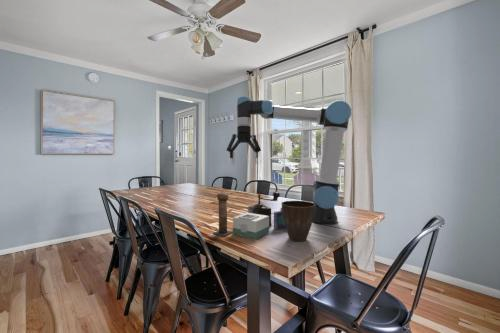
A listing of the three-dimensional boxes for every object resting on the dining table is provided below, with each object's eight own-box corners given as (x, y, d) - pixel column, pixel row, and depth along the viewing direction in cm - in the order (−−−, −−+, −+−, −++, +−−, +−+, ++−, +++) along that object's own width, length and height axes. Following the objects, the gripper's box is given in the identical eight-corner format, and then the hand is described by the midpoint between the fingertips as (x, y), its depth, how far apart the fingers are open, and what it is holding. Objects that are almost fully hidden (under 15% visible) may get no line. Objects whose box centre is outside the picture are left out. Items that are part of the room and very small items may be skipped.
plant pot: (291, 231, 121) (291, 199, 120) (320, 237, 111) (320, 203, 110) (274, 239, 109) (275, 204, 108) (305, 247, 100) (305, 208, 99)
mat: (233, 232, 119) (233, 231, 119) (223, 236, 113) (223, 235, 113) (222, 230, 123) (222, 229, 123) (212, 234, 117) (212, 232, 117)
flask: (274, 230, 123) (274, 209, 122) (272, 228, 126) (272, 207, 125) (291, 228, 126) (291, 207, 125) (288, 226, 129) (288, 206, 128)
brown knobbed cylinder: (230, 231, 118) (230, 194, 118) (223, 234, 114) (223, 195, 113) (222, 229, 121) (222, 193, 121) (215, 232, 117) (214, 194, 116)
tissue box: (269, 232, 120) (269, 214, 119) (255, 239, 109) (255, 220, 109) (247, 227, 127) (247, 211, 126) (232, 234, 116) (232, 216, 116)
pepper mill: (253, 228, 126) (253, 193, 126) (247, 222, 137) (247, 190, 136) (281, 225, 131) (281, 192, 130) (273, 220, 142) (273, 189, 141)
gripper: (260, 127, 144) (260, 163, 145) (220, 125, 133) (220, 164, 134) (266, 126, 138) (266, 163, 139) (225, 123, 126) (226, 164, 127)
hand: (244, 164), depth 136 cm, fingers open, 13 cm apart
